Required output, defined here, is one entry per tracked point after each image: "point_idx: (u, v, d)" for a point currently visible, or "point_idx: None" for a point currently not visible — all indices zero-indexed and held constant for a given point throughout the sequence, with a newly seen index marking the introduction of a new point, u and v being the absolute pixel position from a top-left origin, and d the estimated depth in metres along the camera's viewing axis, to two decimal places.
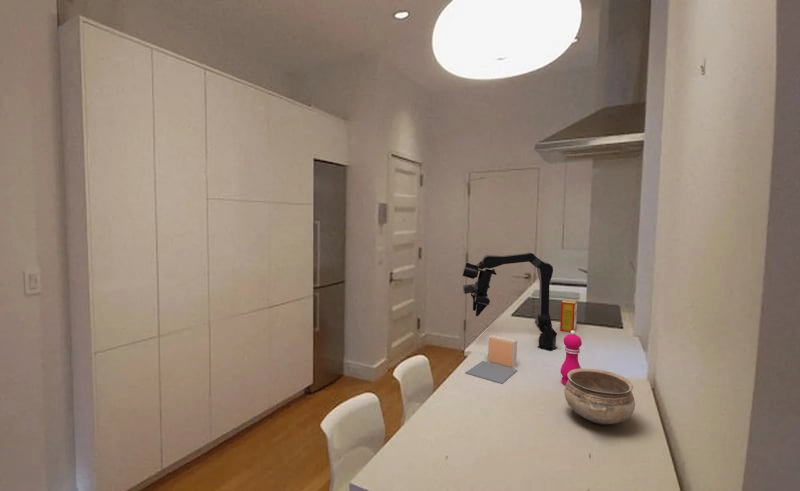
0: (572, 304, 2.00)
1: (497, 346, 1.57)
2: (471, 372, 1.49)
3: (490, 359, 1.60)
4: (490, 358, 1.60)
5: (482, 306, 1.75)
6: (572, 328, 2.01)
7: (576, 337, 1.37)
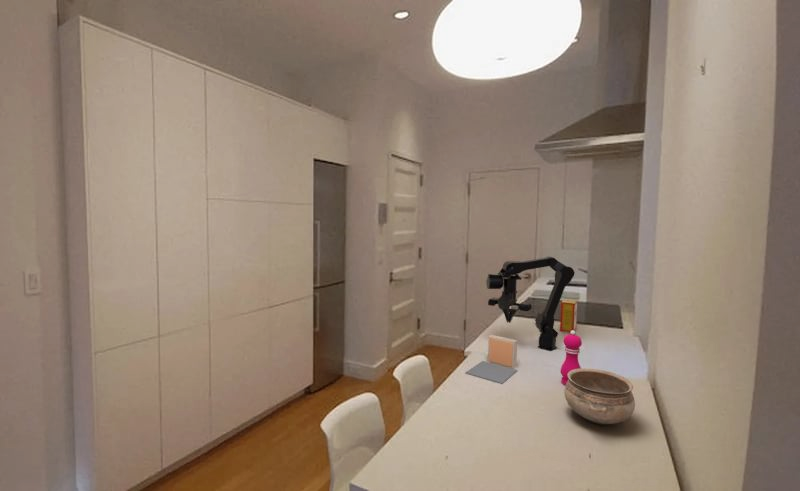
0: (572, 304, 2.00)
1: (497, 346, 1.57)
2: (471, 372, 1.49)
3: (490, 359, 1.60)
4: (490, 358, 1.60)
5: (514, 311, 1.76)
6: (572, 328, 2.01)
7: (576, 337, 1.37)
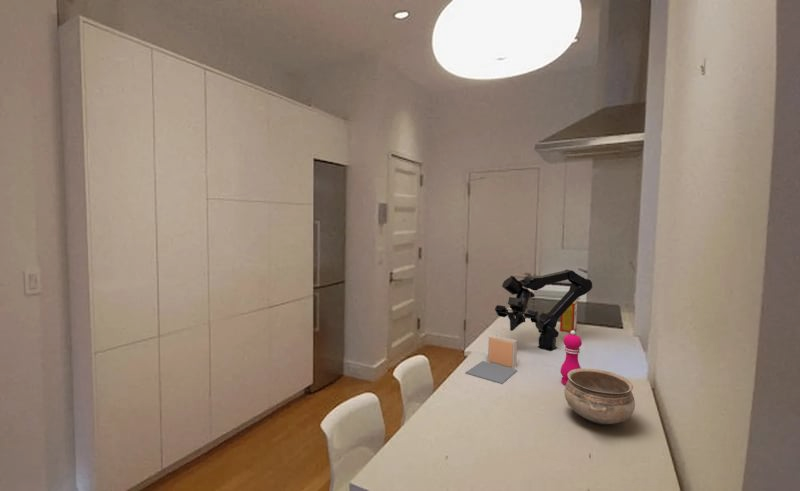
0: (572, 304, 2.00)
1: (497, 346, 1.57)
2: (471, 372, 1.49)
3: (490, 359, 1.60)
4: (490, 358, 1.60)
5: (519, 321, 1.67)
6: (572, 328, 2.01)
7: (576, 337, 1.37)
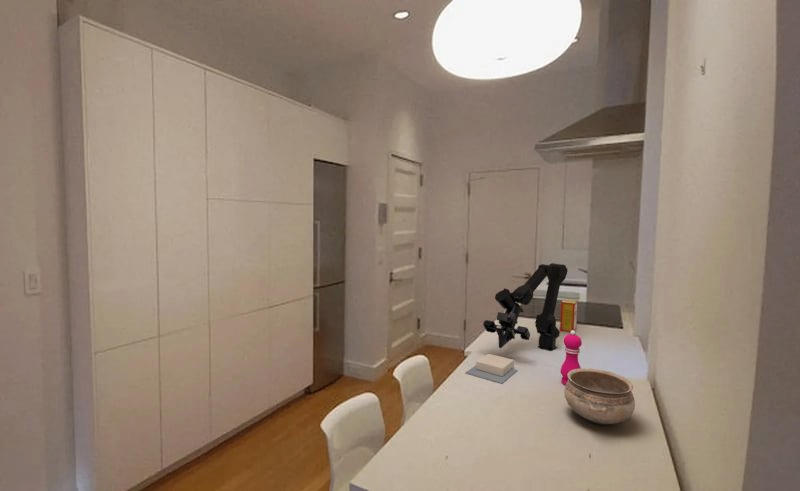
0: (572, 304, 2.00)
1: None
2: (471, 372, 1.49)
3: None
4: None
5: (508, 338, 1.58)
6: (572, 328, 2.01)
7: (576, 337, 1.37)
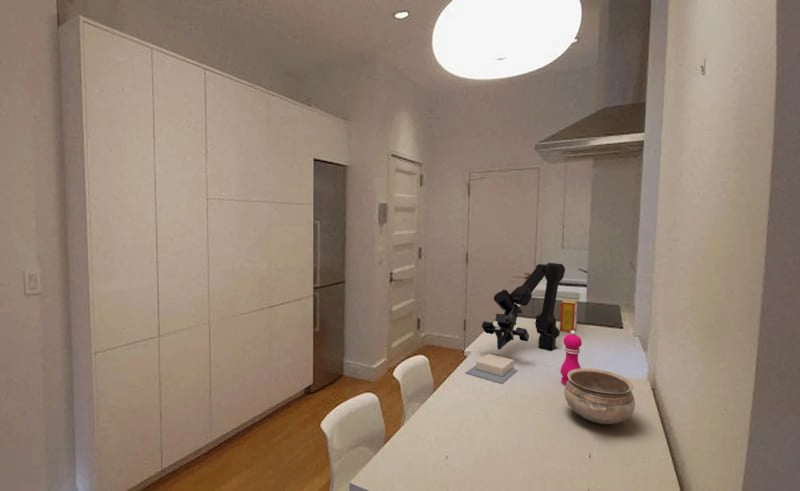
0: (572, 304, 2.00)
1: None
2: (471, 372, 1.49)
3: None
4: None
5: (507, 339, 1.57)
6: (572, 328, 2.01)
7: (576, 337, 1.37)
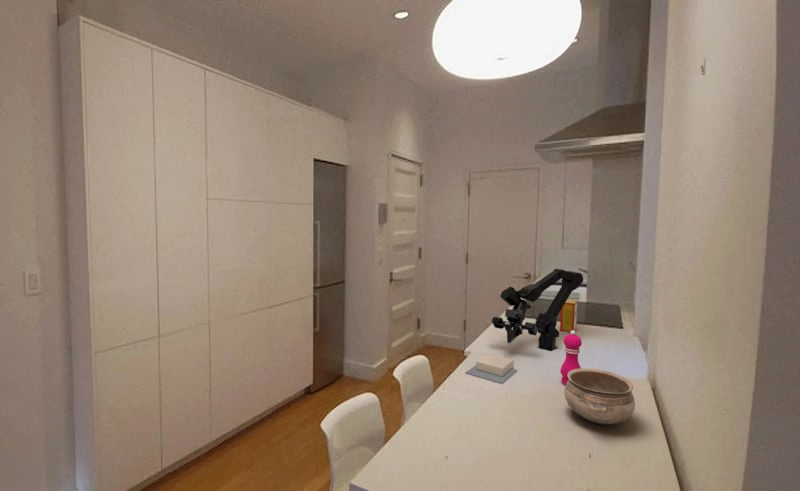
0: (572, 304, 2.00)
1: None
2: (471, 372, 1.49)
3: None
4: None
5: (516, 334, 1.65)
6: (572, 328, 2.01)
7: (576, 337, 1.37)
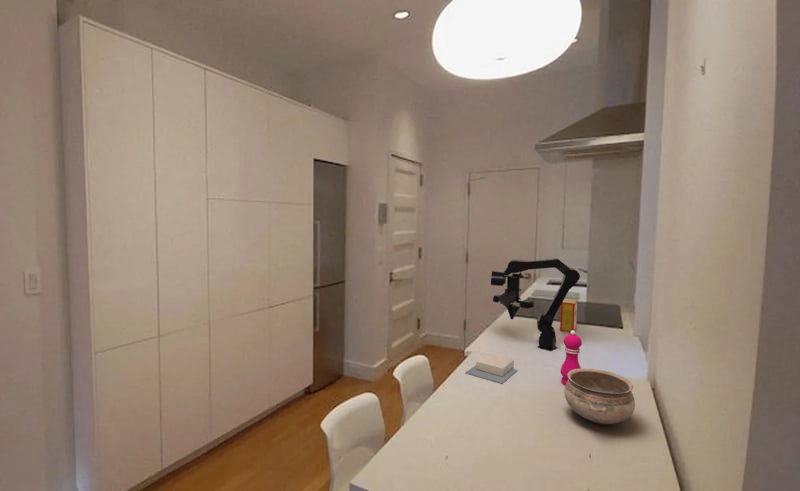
0: (572, 304, 2.00)
1: None
2: (471, 372, 1.49)
3: None
4: None
5: (516, 308, 1.81)
6: (572, 328, 2.01)
7: (576, 337, 1.37)
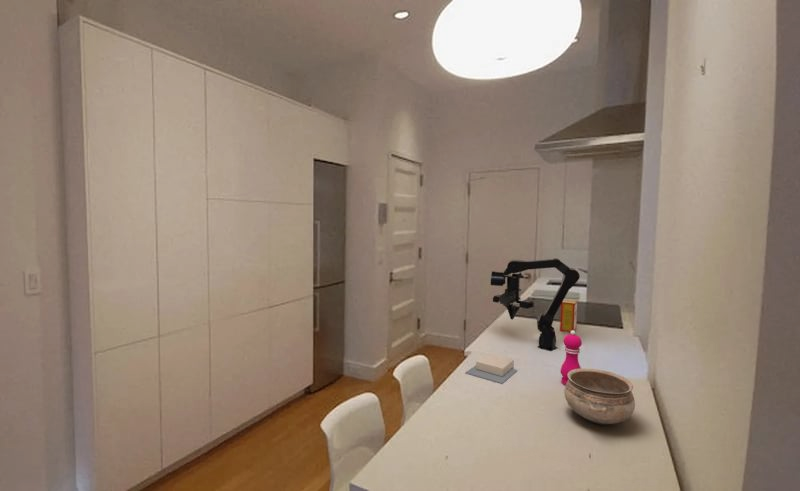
0: (572, 304, 2.00)
1: None
2: (471, 372, 1.49)
3: None
4: None
5: (516, 308, 1.81)
6: (572, 328, 2.01)
7: (576, 337, 1.37)
